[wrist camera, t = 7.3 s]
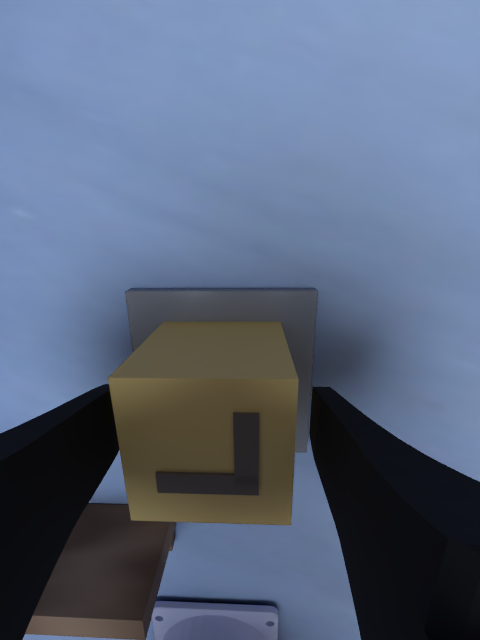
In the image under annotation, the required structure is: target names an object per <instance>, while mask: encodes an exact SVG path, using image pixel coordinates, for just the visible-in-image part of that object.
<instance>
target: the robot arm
mask: <svg viewBox="0 0 480 640" xmlns="http://www.w3.org/2000/svg"><path fill="white" fill-rule="evenodd" d="M309 435H310V440H311V445H312V451H313V455H314V460H315V463H316V467H317V470H318V473H319V476H320V479H321V482H322V485H323V488H324V491H325V494H326V497H327V500H328V503H329V507H330V510H331V513H332V516H333V519H334V522H335V525H336V529H337V532H338V536H339V539H340V544H341V548H342V552H343V557H344V561H345V565H346V570H347V574H348V579H349V583H350V588H351V592H352V597H353V602H354V606H355V611H356V616H357V620H358V625H359V630H360V635H361V640H480V482H479V481H477V480H474V479H472V478H470V477H468V476H466V475H464V474H462V473H460V472H458V471H456V470H454V469H452V468H450V467H448V466H446V465H444V464H442V463H440V462H438V461H436V460H434V459H432V458H431V457H429V456H427V455H425V454H423V453H422V452H420V451H418V450H417V449H415V448H413V447H412V446H410V445H408V444H406V443H405V442H403V441H402V440H400V439H398V438H397V437H395V436H394V435H392V434H391V433H389V432H388V431H386V430H385V429H384V428H382V427H381V426H379V425H378V424H376V423H375V422H374V421H372V420H371V419H370V418H368V417H367V416H366V415H364V414H363V413H362V412H360V411H359V410H358V409H357V408H355V407H354V406H353V405H352V404H350V403H349V402H348V401H347V400H346V399H344V398H343V397H342V396H341V395H339V394H338V393H337V392H336V391H334V390H333V389H332V388H330V387H313V390H312V404H311V418H310V432H309ZM118 451H119V443H118V437H117V431H116V424H115V418H114V412H113V406H112V400H111V394H110V388H109V384H104V385H102V386H99V387H97V388H95V389H92V390H90V391H88V392H86V393H84V394H82V395H80V396H78V397H76V398H74V399H72V400H70V401H68V402H66V403H64V404H62V405H60V406H58V407H57V408H55V409H53V410H51V411H48V412H46V413H44V414H42V415H40V416H38V417H36V418H34V419H32V420H29V421H27V422H25V423H23V424H21V425H19V426H17V427H14V428H12V429H10V430H8V431H5V432H3V433H0V640H22V639H23V637H24V635H25V632H26V630H27V628H28V625H29V623H30V621H31V618H32V616H33V614H34V611H35V609H36V607H37V604H38V602H39V600H40V598H41V596H42V593H43V591H44V589H45V587H46V585H47V583H48V580H49V578H50V576H51V574H52V572H53V569H54V567H55V565H56V563H57V561H58V559H59V557H60V555H61V553H62V551H63V549H64V547H65V545H66V542H67V540H68V538H69V536H70V534H71V532H72V530H73V528H74V527H75V525H76V523H77V521H78V519H79V518H80V516H81V514H82V512H83V511H84V509H85V507H86V506H87V504H88V503H89V501H90V499H91V498H92V496H93V494H94V493H95V491H96V489H97V488H98V486H99V484H100V483H101V481H102V479H103V478H104V476H105V474H106V473H107V471H108V469H109V468H110V466H111V464H112V463H113V461H114V459H115V457H116V456H117V454H118ZM278 619H279V617H278V610H277V609H276V608H275V607H273V606H264V605H242V604H219V603H197V602H174V601H156V602H155V606H154V609H153V613H152V623H153V629H154V636H155V640H278Z"/></svg>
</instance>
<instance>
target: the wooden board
mask: <svg viewBox="0 0 480 640" xmlns="http://www.w3.org/2000/svg"><path fill="white" fill-rule="evenodd" d="M175 526H176V522H166V521H134V520H131V517H130V511H129V505H117V504H87V506H86V507H85V509H84V511H83V512H82V514H81V516H80V518H79V519H78V521H77V523H76V525H75V527H74V528H73V530H72V532H71V534H70V536H69V538H68V540H67V542H66V545H65V547H64V549H63V551H62V553H61V555H60V557H59V559H58V561H57V563H56V565H55V567H54V569H53V572H52V574H51V576H50V578H49V580H48V583H47V585H46V587H45V589H44V591H43V593H42V596H41V598H40V600H39V602H38V604H37V607H36V609H35V611H34V614H33V616H32V618H31V621H30V623H29V625H28V628H27V630H26V632H25V634H36V635H56V636H76V637H95V638H115V639H135V640H146V636H147V632H148V628H149V625H150V621H151V617H152V613H153V609H154V606H155V602H156V598H157V594H158V590H159V587H160V583H161V579H162V575H163V571H164V568H165V564H166V560H167V556H168V552H169V551H172V549H173V545H174V541H175V537H174V529H175Z"/></svg>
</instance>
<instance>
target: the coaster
mask: <svg viewBox="0 0 480 640" xmlns="http://www.w3.org/2000/svg"><path fill="white" fill-rule="evenodd" d="M125 295H126V302H127V310H128V318H129V326H130V334H131V341H132V349H133V352H134V351H135V350H136V349H137V348H138V347H139V346H140V345H141V344H142V343H143V342H144V341H145V340H146V339H147V338H148V337H149V336H150V335H151V334H152V333H153V332H154V331H155V330H156V329H157V328H158V327H159V326H160V325H161V324H162V323H163V322H281V325H282V328H283V332H284V335H285V338H286V341H287V344H288V347H289V351H290V354H291V357H292V360H293V363H294V367H295V370H296V373H297V376H298V379H299V380H298V399H297V419H296V438H295V452H307V439H308V425H309V411H310V396H311V382H312V368H313V353H314V339H315V324H316V310H317V296H318V291H317V290H316V289H315V288H182V289H129V290H127V291H125Z"/></svg>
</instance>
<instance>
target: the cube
mask: <svg viewBox="0 0 480 640" xmlns="http://www.w3.org/2000/svg"><path fill="white" fill-rule="evenodd" d="M298 380H299V379H298V376H297V373H296V370H295V367H294V363H293V360H292V357H291V354H290V351H289V347H288V344H287V341H286V338H285V335H284V332H283V328H282V325H281V322H163V323H162V324H161V325H160V326H159V327H158V328H157V329H156V330H155V331H154V332H153V333H152V334H151V335H150V336H149V337H148V338H147V339H146V340H145V341H144V342H143V343H142V344H141V345H140V346H139V347H138V348H137V349H136V350H135V351H134V352H133V353H132V354H131V355H130V356H129V357H128V358H127V359H126V360H125V361H124V362H123V363H122V364H121V365H120V366H119V367H118V368H117V369H116V370H115V371H114V372H113V373H112V374H111V375H110V376H109V377H108V381H109V388H110V394H111V400H112V406H113V412H114V418H115V424H116V431H117V437H118V443H119V449H120V455H121V461H122V467H123V474H124V480H125V486H126V492H127V498H128V504H129V511H130V517H131V520H134V521H166V522H199V523H232V524H265V525H291V515H292V496H293V477H294V457H295V438H296V419H297V399H298Z"/></svg>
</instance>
